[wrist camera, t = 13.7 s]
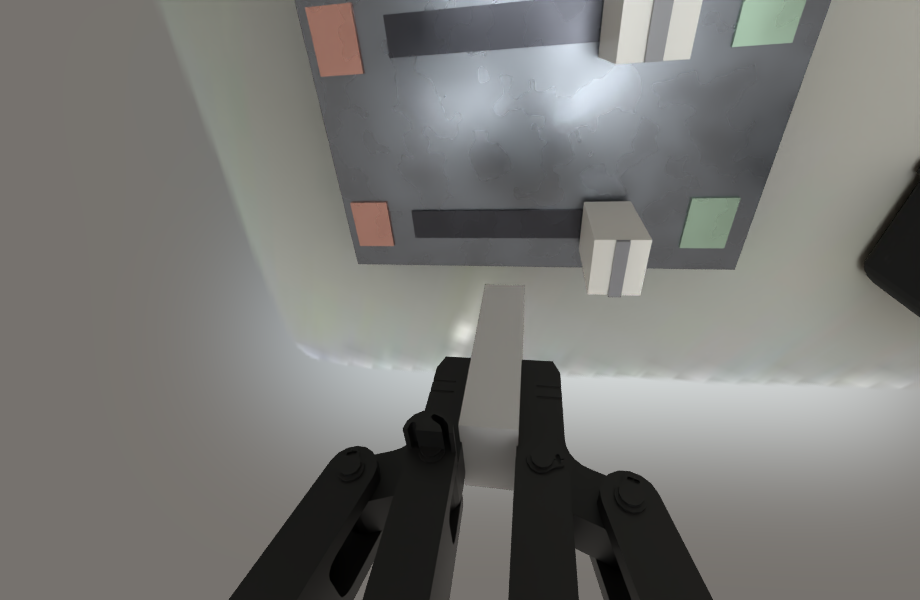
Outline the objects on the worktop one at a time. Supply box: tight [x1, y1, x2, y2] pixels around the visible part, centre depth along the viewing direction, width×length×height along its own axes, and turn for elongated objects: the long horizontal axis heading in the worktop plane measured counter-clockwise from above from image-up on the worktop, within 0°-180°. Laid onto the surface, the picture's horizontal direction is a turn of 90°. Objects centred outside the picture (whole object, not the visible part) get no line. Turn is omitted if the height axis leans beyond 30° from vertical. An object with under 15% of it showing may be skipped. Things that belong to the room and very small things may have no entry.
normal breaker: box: [598, 0, 703, 64], centre depth 15 cm, size 3×2×5 cm
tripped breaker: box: [579, 201, 652, 297], centre depth 21 cm, size 3×2×5 cm
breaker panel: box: [295, 0, 831, 270], centre depth 22 cm, size 16×24×2 cm, turn 94°
